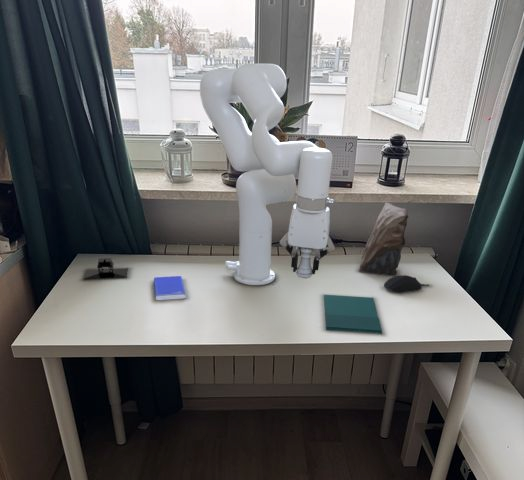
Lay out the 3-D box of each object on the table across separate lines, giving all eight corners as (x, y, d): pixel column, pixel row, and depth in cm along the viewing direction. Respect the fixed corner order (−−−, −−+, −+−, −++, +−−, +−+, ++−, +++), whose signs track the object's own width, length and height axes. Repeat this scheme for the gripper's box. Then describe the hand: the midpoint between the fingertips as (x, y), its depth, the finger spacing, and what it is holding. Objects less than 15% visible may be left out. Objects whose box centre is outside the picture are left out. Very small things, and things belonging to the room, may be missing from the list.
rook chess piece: (311, 279, 132) (314, 251, 128) (294, 277, 133) (297, 248, 128) (313, 272, 136) (316, 244, 131) (296, 270, 136) (299, 242, 132)
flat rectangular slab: (326, 329, 129) (326, 327, 128) (324, 295, 146) (324, 293, 145) (381, 333, 128) (382, 330, 127) (373, 298, 145) (373, 296, 144)
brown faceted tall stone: (370, 258, 171) (380, 199, 161) (407, 267, 166) (419, 206, 156) (356, 270, 162) (365, 208, 152) (395, 280, 157) (407, 216, 146)
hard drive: (185, 293, 140) (181, 275, 151) (155, 295, 139) (153, 277, 149) (185, 298, 141) (181, 280, 151) (155, 300, 140) (154, 282, 150)
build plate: (84, 280, 150) (81, 265, 147) (87, 270, 156) (84, 256, 153) (127, 278, 152) (125, 263, 149) (128, 268, 158) (126, 254, 155)
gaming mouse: (434, 290, 151) (437, 277, 149) (389, 294, 148) (392, 282, 146) (423, 281, 157) (425, 269, 154) (379, 285, 153) (381, 273, 151)
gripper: (346, 201, 125) (337, 269, 136) (279, 194, 128) (275, 261, 138) (345, 210, 119) (335, 281, 129) (275, 203, 121) (270, 273, 131)
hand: (304, 270), depth 133 cm, fingers closed on rook chess piece, 4 cm apart
